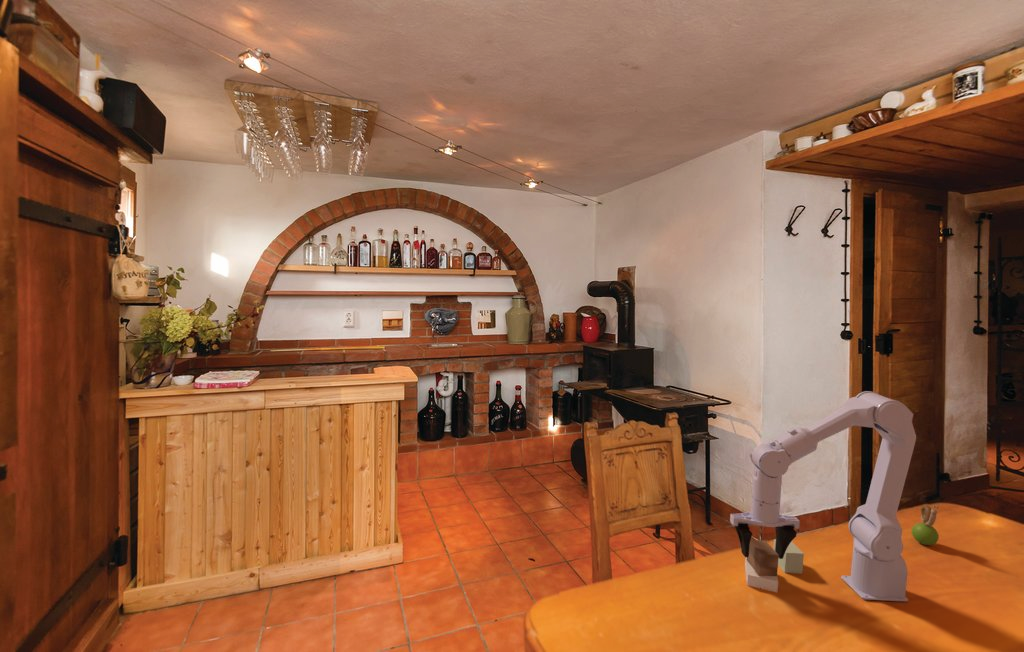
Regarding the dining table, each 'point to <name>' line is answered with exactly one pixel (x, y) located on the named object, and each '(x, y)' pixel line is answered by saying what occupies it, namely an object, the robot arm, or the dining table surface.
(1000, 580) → the dining table surface
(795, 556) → the sage brick
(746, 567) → the pale grey brick
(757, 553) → the walnut brick
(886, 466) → the robot arm
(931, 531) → the green egg with ears
